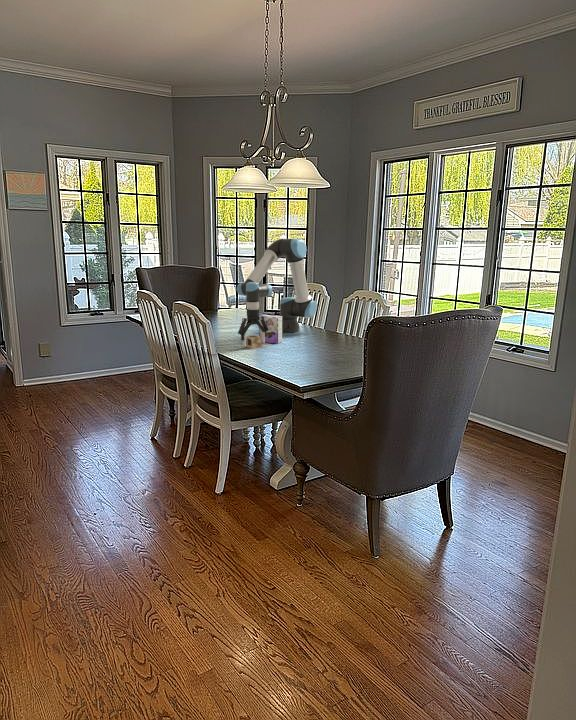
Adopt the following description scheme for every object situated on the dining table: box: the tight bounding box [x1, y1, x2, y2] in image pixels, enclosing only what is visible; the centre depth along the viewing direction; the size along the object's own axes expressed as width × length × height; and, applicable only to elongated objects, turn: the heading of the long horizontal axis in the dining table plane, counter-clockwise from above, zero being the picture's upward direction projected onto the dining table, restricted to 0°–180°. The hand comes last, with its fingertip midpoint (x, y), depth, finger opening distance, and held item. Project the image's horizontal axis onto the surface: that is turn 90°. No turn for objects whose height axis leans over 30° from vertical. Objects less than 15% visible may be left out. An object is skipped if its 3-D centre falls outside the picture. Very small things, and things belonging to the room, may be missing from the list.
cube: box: [246, 334, 262, 349], centre depth 316 cm, size 6×6×6 cm
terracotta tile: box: [245, 345, 263, 350], centre depth 316 cm, size 7×7×1 cm
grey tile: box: [261, 342, 273, 348], centre depth 321 cm, size 7×7×1 cm
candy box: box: [258, 314, 283, 345], centre depth 329 cm, size 14×6×16 cm, turn 62°
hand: (253, 344), depth 316 cm, fingers open, 13 cm apart
